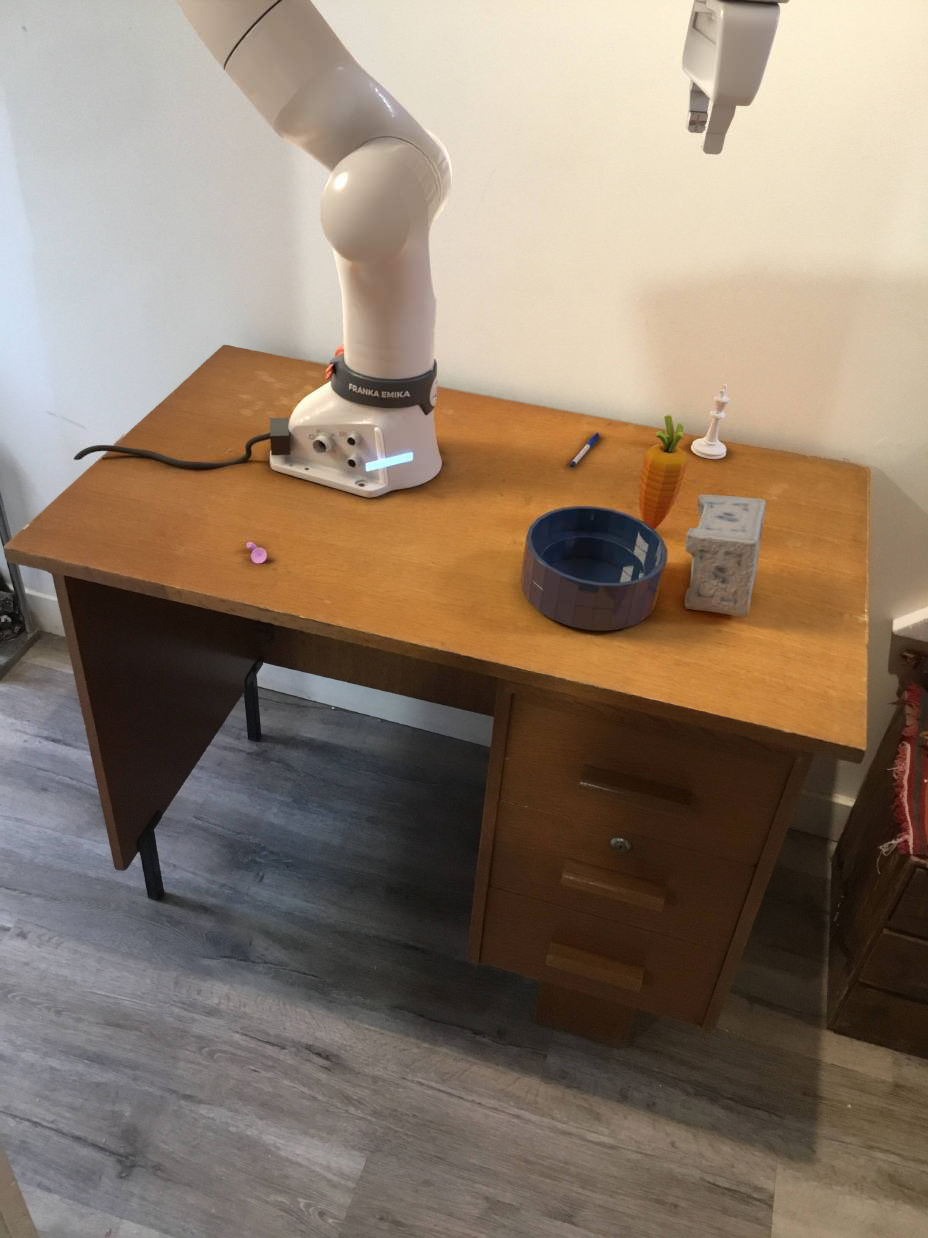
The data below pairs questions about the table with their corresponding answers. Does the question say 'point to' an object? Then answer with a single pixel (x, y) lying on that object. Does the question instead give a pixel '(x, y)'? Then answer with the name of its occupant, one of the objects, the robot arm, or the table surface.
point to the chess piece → (713, 431)
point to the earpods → (257, 553)
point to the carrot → (661, 475)
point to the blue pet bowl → (593, 567)
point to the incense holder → (724, 553)
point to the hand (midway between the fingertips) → (702, 141)
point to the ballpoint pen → (585, 449)
